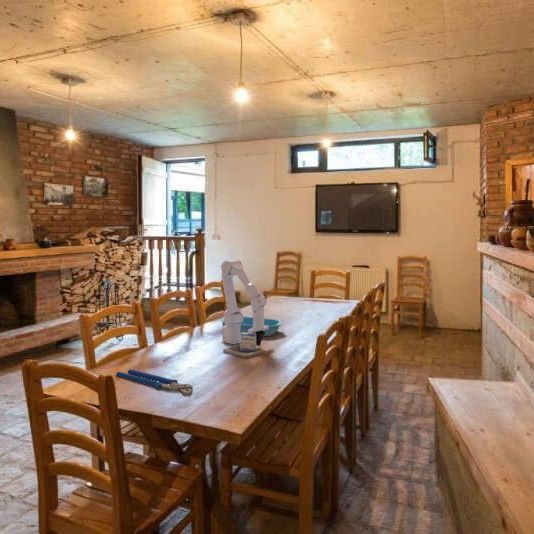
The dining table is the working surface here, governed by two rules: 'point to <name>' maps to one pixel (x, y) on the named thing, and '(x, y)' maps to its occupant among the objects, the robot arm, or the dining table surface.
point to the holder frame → (229, 350)
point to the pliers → (172, 383)
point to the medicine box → (247, 341)
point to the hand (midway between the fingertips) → (258, 345)
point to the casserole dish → (272, 325)
